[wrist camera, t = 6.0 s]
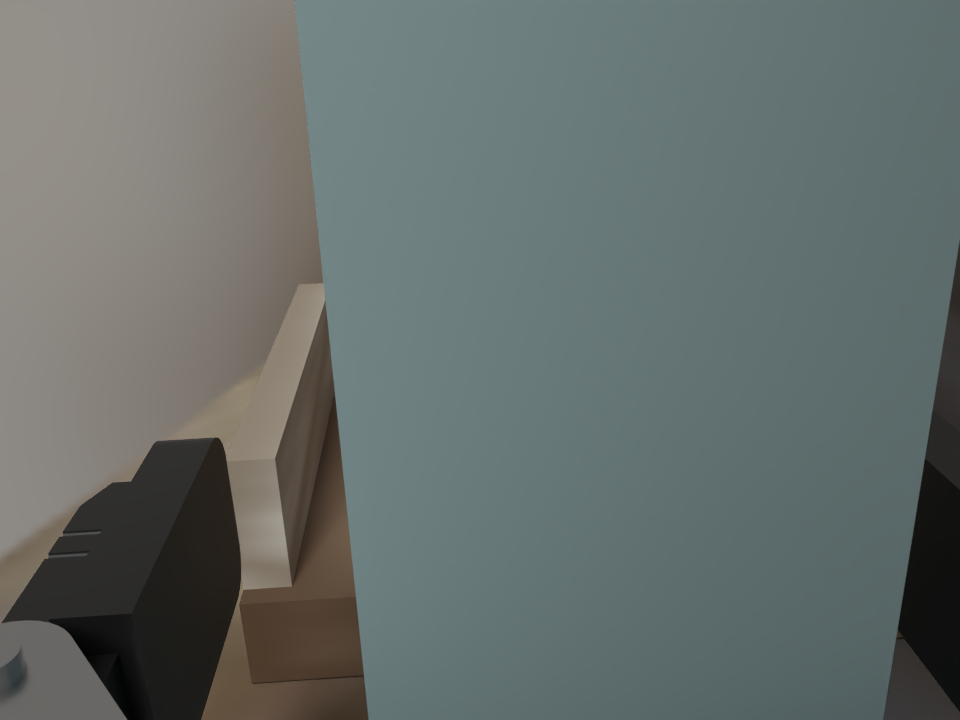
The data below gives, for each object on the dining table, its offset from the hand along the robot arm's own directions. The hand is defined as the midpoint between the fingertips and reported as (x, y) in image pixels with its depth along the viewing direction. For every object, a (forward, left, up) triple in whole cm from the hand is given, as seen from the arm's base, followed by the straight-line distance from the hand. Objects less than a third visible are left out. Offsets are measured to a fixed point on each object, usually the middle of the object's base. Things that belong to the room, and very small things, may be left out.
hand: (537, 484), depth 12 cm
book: (0, +2, -7) cm, 8 cm away
